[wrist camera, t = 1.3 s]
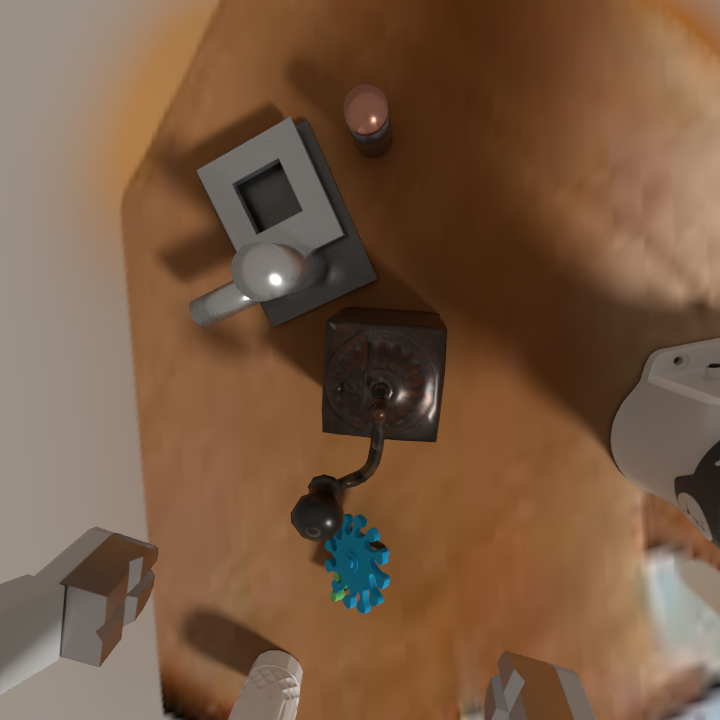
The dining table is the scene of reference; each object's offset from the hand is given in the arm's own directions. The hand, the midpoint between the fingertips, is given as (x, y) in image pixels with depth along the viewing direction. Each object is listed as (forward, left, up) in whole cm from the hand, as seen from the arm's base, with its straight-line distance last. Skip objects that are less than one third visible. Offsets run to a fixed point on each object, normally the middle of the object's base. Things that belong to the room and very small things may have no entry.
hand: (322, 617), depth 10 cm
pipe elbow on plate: (+7, -14, -36) cm, 39 cm away
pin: (-6, -18, -36) cm, 40 cm away
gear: (+14, +21, -36) cm, 44 cm away
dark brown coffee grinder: (+3, +4, -36) cm, 36 cm away
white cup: (+32, +35, -36) cm, 59 cm away
